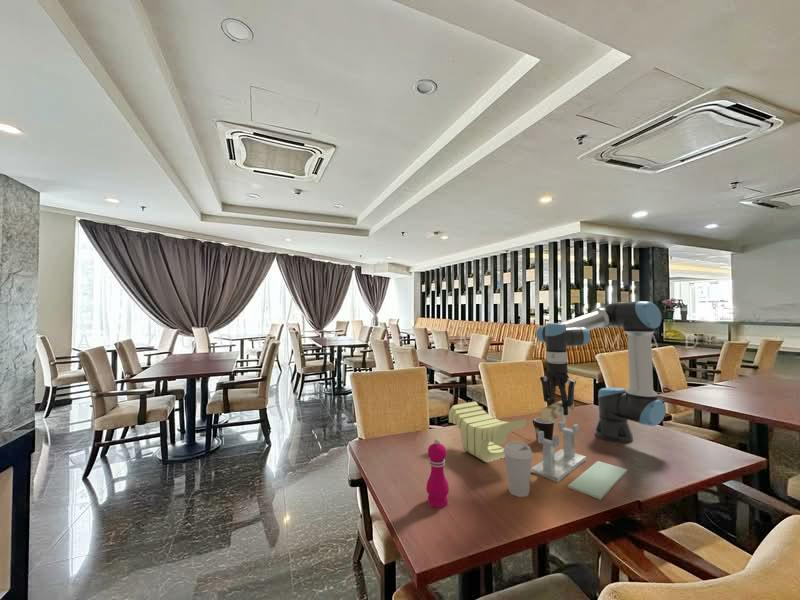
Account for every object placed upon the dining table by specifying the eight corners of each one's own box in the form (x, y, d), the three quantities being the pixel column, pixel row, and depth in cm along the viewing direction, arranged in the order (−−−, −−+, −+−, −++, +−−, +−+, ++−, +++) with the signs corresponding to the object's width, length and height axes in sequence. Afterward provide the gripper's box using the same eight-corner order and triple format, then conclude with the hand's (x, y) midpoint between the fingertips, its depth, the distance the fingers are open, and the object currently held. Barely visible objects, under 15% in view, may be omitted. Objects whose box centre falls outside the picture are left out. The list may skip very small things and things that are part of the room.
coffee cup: (518, 502, 106) (517, 454, 106) (498, 488, 115) (497, 443, 115) (540, 495, 110) (539, 449, 110) (519, 482, 118) (518, 439, 119)
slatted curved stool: (449, 445, 152) (448, 406, 152) (476, 438, 159) (475, 401, 160) (497, 473, 125) (496, 425, 126) (526, 463, 133) (525, 418, 133)
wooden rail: (566, 407, 140) (566, 398, 140) (574, 409, 137) (573, 399, 137) (541, 419, 125) (541, 409, 125) (549, 421, 123) (549, 410, 123)
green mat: (597, 462, 133) (597, 460, 133) (627, 471, 125) (627, 469, 125) (568, 487, 114) (568, 485, 114) (600, 499, 107) (600, 497, 107)
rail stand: (561, 452, 143) (560, 418, 143) (586, 460, 135) (585, 424, 136) (531, 472, 126) (530, 433, 126) (557, 482, 118) (556, 440, 119)
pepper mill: (424, 496, 110) (424, 435, 110) (446, 495, 110) (445, 434, 111) (428, 509, 102) (427, 443, 103) (451, 508, 103) (450, 442, 104)
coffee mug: (556, 446, 149) (556, 424, 149) (536, 445, 151) (535, 423, 151) (550, 437, 160) (549, 416, 161) (531, 435, 162) (531, 415, 162)
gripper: (532, 361, 135) (534, 419, 135) (574, 365, 123) (576, 429, 123) (541, 359, 140) (543, 415, 140) (582, 363, 128) (584, 424, 127)
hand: (558, 421), depth 131 cm, fingers closed on wooden rail, 3 cm apart
